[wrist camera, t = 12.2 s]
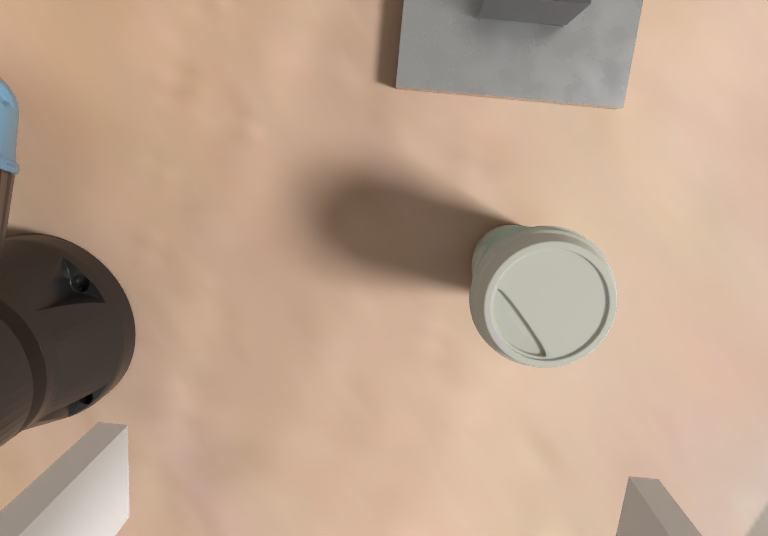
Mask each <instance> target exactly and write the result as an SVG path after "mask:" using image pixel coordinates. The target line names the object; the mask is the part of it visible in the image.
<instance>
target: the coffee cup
mask: <svg viewBox="0 0 768 536" xmlns="http://www.w3.org/2000/svg"><path fill="white" fill-rule="evenodd" d="M469 303H470V311H471V315H472V319H473V322H474V324H475V326H476V328H477V330H478V332H479V333H480V335H481V336H482V338H483V339H484V340H485V341H486V342H487V343H488V344H489V345H490V346H491V347H492V348H493V349H494V350H495V351H497V352H498V353H499V354H501V355H502V356H504V357H506V358H507V359H509V360H512V361H514V362H517V363H520V364H523V365H528V366H533V367H540V368H552V367H559V366H564V365H568V364H570V363H573V362H576V361H578V360H580V359H582V358H583V357H585V356H587V355H588V354H589V353H591V352H592V351H593V350H594V349H595V348H596V347H597V346H598V345H599V344H600V343H601V342H602V341H603V340H604V338H605V337H606V335H607V334H608V332H609V330H610V328H611V326H612V324H613V321H614V318H615V314H616V308H617V289H616V281H615V277H614V274H613V271H612V269H611V267H610V265H609V263H608V261H607V260H606V258H605V257H604V255H603V254H602V252H601V251H600V250H599V249H598V248H597V247H596V246H595V245H594V244H593V243H592V242H591V241H590V240H588V239H587V238H585V237H584V236H582V235H580V234H579V233H576V232H574V231H572V230H569V229H566V228H561V227H556V226H536V227H527V226H520V225H503V226H499V227H496V228H494V229H492V230H490V231H489V232H487V233H486V234H485V235H484V236H483V237H482V238H481V239H480V240H479V241H478V243H477V244H476V246H475V248H474V251H473V255H472V282H471V287H470V295H469Z"/></svg>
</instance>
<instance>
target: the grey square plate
mask: <svg viewBox="0 0 768 536" xmlns="http://www.w3.org/2000/svg"><path fill="white" fill-rule="evenodd" d="M642 3H643V0H591V4H590V5H589V6H588V7H587V8H585V9H584V10H583V11H582V12H581V13H580V14H579V15H577V16H576V17H575V18H574V19H573V20H572V21H570V22H569V23H568V24H567V25H557V24H545V23H532V22H520V21H508V20H496V19H484V18H477V16H478V8H479V0H404V3H403V14H402V25H401V35H400V46H399V57H398V68H397V79H396V89H404V90H415V91H426V92H436V93H447V94H458V95H468V96H479V97H490V98H501V99H511V100H522V101H533V102H543V103H554V104H565V105H575V106H586V107H597V108H607V109H619V108H623V106H624V100H625V95H626V90H627V84H628V79H629V74H630V68H631V63H632V57H633V52H634V47H635V41H636V36H637V30H638V25H639V20H640V14H641V9H642Z"/></svg>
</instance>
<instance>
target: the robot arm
mask: <svg viewBox="0 0 768 536" xmlns="http://www.w3.org/2000/svg"><path fill="white" fill-rule="evenodd" d="M18 120H19V107H18V103H17V100H16V97H15V95H14V93H13V92H12V90H11V89H10V87H9V86H8V85H7V84H6V83H5V82H4V81H3V80H2V79H1V78H0V447H1V446H2V445H3V444H5V443H6V442H7V441H9V440H10V439H11V438H13V437H14V436H15V435H17V434H18V433H19V432H21V431H22V430H25V429H29V428H32V427H36V426H39V425H43V424H46V423H50V422H53V421H56V420H60V419H63V418H67V417H70V416H73V415H75V414H78V413H80V412H82V411H84V410H85V409H87V408H89V407H90V406H92V405H93V404H95V403H96V402H97V401H99V400H100V399H101V398H102V397H103V396H105V395H106V394H107V393H108V392H109V391H111V390H112V389H113V388H114V387H115V386H116V385H117V384H118V382H119V381H120V380H121V379H122V377H123V376H124V374H125V372H126V371H127V369H128V367H129V365H130V362H131V359H132V356H133V352H134V346H135V324H134V318H133V313H132V310H131V307H130V304H129V301H128V299H127V297H126V294H125V293H124V291H123V289H122V287H121V286H120V284H119V282H118V281H117V280H116V278H115V277H114V276H113V274H112V273H111V272H110V271H109V270H108V269H107V268H106V267H105V266H104V265H103V264H102V263H101V262H100V261H99V260H98V259H97V258H95V257H94V256H93V255H91V254H90V253H89V252H87V251H85V250H84V249H82V248H81V247H79V246H77V245H75V244H73V243H70V242H68V241H65V240H63V239H59V238H56V237H52V236H47V235H40V234H22V235H15V236H10V237H6V231H7V224H8V217H9V211H10V204H11V197H12V191H13V184H14V177H15V174H19V165H18V164H17V162H16V145H17V132H18ZM128 517H129V464H128V425H121V424H111V423H102V422H99V423H98V424H96V425H95V426H94V427H93V428H92V429H91V430H90V431H89V432H88V433H87V434H85V435H84V436H83V437H82V438H81V439H80V440H79V441H78V442H77V443H76V444H74V445H73V446H72V447H71V448H70V449H69V450H68V451H67V452H66V453H65V454H63V455H62V456H61V457H60V458H59V459H58V460H57V461H56V462H55V463H53V464H52V465H51V466H50V467H49V468H48V469H47V470H46V471H45V472H44V473H42V474H41V475H40V476H39V477H38V478H37V479H36V480H35V481H34V482H33V483H31V484H30V485H29V486H28V487H27V488H26V489H25V490H24V491H23V492H22V493H20V494H19V495H18V496H17V497H16V498H15V499H14V500H13V501H12V502H11V503H9V504H8V505H7V506H6V507H5V508H4V509H3V510H2V511H1V512H0V536H115V535H116V534H117V532H118V531H119V530H120V528H121V527H122V526H123V524H124V523H125V522H126V520H127V519H128ZM616 536H702V535H701V534H700V533H699V531H698V530H697V529H696V527H695V526H694V525H693V523H692V522H691V521H690V520H689V518H688V517H687V516H686V514H685V513H684V512H683V510H682V509H681V508H680V507H679V505H678V504H677V503H676V501H675V500H674V499H673V497H672V496H671V495H670V494H669V492H668V491H667V490H666V488H665V487H664V486H663V484H662V483H661V482H660V481H659V479H649V478H639V477H630V476H629V479H628V483H627V488H626V492H625V497H624V501H623V506H622V511H621V515H620V520H619V524H618V529H617V533H616Z"/></svg>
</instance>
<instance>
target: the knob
mask: <svg viewBox="0 0 768 536" xmlns="http://www.w3.org/2000/svg"><path fill="white" fill-rule="evenodd" d="M590 4H591V0H479V8H478V16H477V18H484V19H496V20H508V21H520V22H532V23H545V24H557V25H567V24H568V23H569V22H570V21H572V20H573V19H574V18H575V17H576V16H577V15H579V14H580V13H581V12H582V11H583V10H584V9H585V8H587V7H588V6H589V5H590Z"/></svg>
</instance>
